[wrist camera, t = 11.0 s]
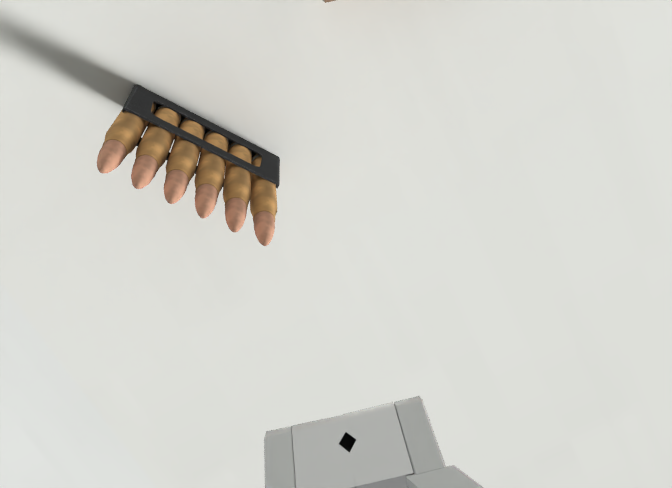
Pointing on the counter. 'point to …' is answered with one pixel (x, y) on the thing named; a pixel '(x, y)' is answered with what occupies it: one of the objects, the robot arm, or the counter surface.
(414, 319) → the counter surface
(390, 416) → the robot arm
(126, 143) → the ammunition clip
